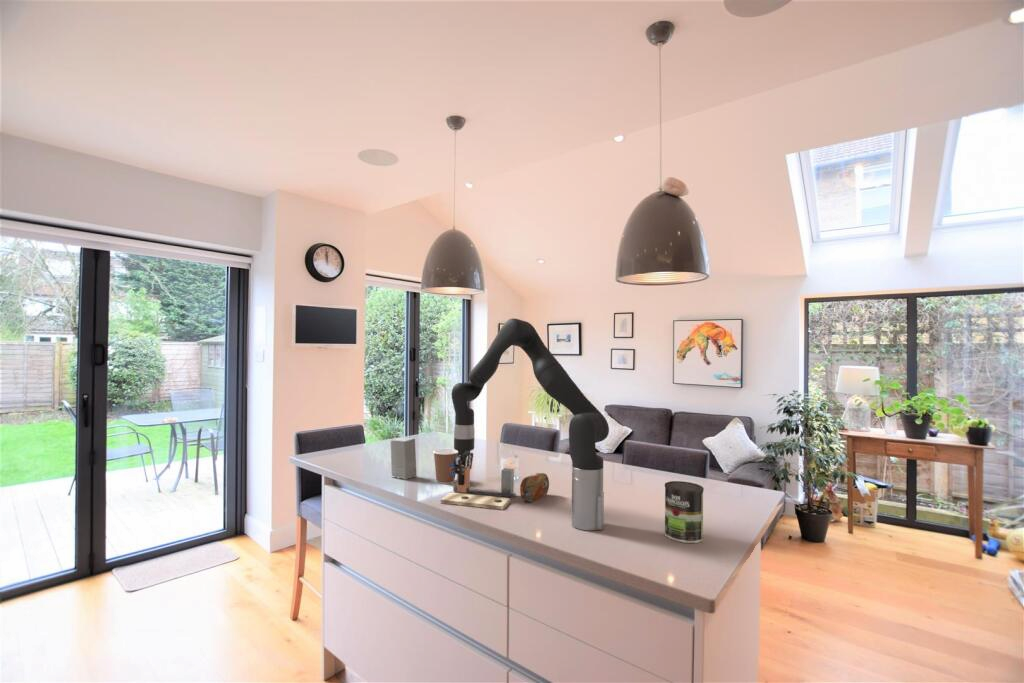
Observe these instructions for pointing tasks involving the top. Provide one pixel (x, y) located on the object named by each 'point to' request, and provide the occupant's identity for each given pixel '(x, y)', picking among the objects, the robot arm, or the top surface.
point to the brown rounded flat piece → (534, 487)
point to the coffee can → (684, 511)
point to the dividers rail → (506, 485)
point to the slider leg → (466, 481)
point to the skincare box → (403, 458)
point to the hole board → (476, 500)
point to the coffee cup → (445, 465)
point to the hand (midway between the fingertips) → (463, 483)
